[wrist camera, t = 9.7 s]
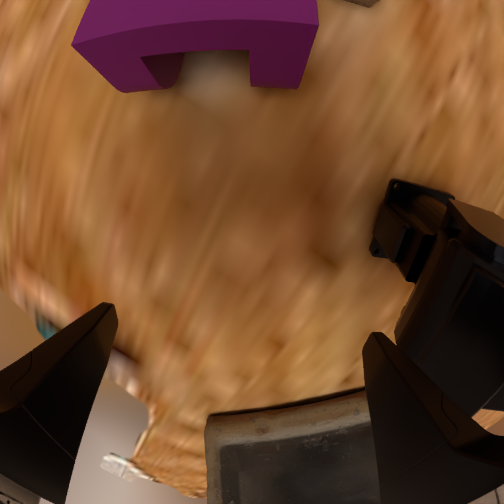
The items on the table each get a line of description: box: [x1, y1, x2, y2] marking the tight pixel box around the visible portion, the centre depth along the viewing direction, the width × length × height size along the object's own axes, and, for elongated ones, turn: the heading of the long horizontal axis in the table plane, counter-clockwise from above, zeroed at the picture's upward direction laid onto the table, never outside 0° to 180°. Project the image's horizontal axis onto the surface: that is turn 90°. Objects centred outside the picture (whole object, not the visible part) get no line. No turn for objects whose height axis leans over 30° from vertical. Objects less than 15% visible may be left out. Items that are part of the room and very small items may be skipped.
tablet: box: [204, 390, 381, 504], centre depth 25 cm, size 33×14×25 cm, turn 112°
